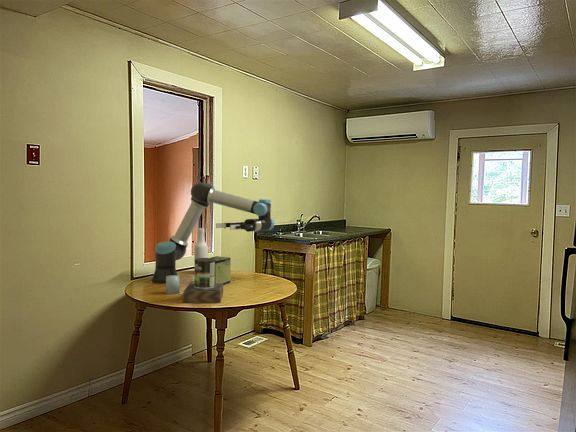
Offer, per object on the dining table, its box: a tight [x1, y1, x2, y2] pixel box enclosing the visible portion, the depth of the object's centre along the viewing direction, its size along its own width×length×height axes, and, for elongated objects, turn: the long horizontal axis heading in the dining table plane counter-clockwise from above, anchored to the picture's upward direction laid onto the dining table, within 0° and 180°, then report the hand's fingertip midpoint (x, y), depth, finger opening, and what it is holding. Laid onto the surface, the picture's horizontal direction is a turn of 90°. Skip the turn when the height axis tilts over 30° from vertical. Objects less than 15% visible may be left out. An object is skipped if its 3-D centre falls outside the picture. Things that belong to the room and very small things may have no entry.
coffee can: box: [193, 257, 215, 289], centre depth 218 cm, size 10×10×14 cm
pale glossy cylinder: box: [165, 274, 181, 295], centre depth 229 cm, size 7×7×9 cm
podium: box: [182, 282, 224, 304], centre depth 218 cm, size 18×18×6 cm
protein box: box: [210, 255, 231, 286], centre depth 252 cm, size 10×16×16 cm
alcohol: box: [193, 227, 209, 273], centre depth 285 cm, size 9×9×30 cm
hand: (223, 226), depth 242 cm, fingers open, 13 cm apart
